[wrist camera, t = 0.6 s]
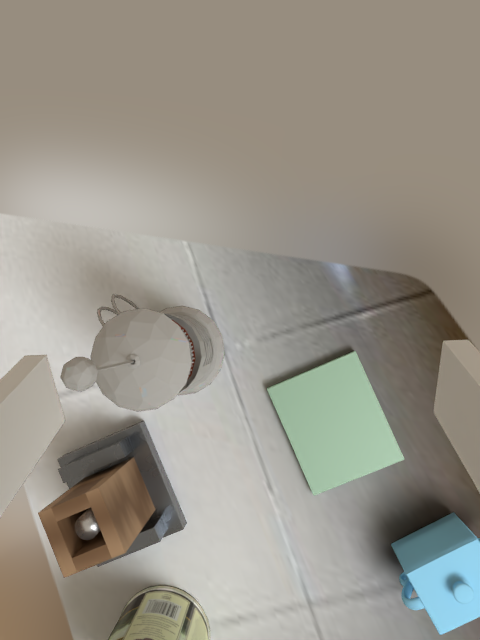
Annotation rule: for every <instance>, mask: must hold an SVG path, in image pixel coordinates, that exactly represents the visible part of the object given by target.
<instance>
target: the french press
mask: <svg viewBox="0 0 480 640" xmlns="http://www.w3.org/2000/svg"><path fill="white" fill-rule="evenodd" d="M115 297H117V298H121V299H123V300H124V301H126V302H128V303H129V304H131V305H132V306H133V307H135V308H136V310H130V311H124V312H122V313H120V311H119V310H118V308H117V307H116V305H115V301H114V298H115ZM111 302H112V305H113V307H114V309H115V310H116V311H115V310H113V309H111V308H108V307H100V308H99V309H98V311H97V314H98V318H99V321H100V323H101V324H102V326H103V328H102V329H101V331H100V332H99V333H98V335H97V336H96V338H95V341H94V345H93V349H92V353H91V360H89V359H88V358H85V357H75V358H74V359H72V360H70V361H69V362H67V363H66V364H64V366H63V369H62V373H61V379H62V381H63V382H64V384H65V386H66V388H69V389H72V390H76V391H80V392H82V391H84V390H87V389H88V388H90V387H92V386H93V384H94V383H95V381H96V383H97V384H98V386H99V388H100V390H101V392H102V393H103V395H105V396H106V397H107V398H108V399H110V400H111V401H112V402H113V403H115V404H116V405H117V406H119V407H122V408H126V409H130V410H133V411H145V410H153V409H158V408H159V407H161V406H163V405H164V404H166V403H168V402H169V401H171V400H173V399H174V398H175V397H176V395H185V394H192V393H196V392H198V391H200V390H201V389H203V388H205V387H206V386H208V385H210V384H211V382H212V381H213V380H214V378H215V377H216V376H217V374H218V373H219V371H220V370H221V366H222V362H223V358H224V354H225V352H224V345H223V338H222V335H221V333H220V331H219V329H218V328H217V326H216V324H215V323H214V321H213V320H212V319H210V318H209V317H208V316H206V315H205V314H204V313H202V312H201V311H200V310H197V309H193V308H189V307H185V306H179V307H173V308H167V309H164V310H163V311H161V312H157V311H153V310H149V309H145V308H142V309H139V308H138V307H137V306H136V305H135V304H134V303H133V302H132V301H130V300H128V299H126V298H124V297H123V296H121V295H115V294H113V295H112V299H111ZM101 310H108V311H111V312H113V313H115V314H117V316H116V317H114V318H112V319H111V320H109V321H107V322H106V324H105V323H104V322H103V320H102V318H101V314H100V312H101Z"/></svg>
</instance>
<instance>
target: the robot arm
mask: <svg viewBox="0 0 480 640" xmlns="http://www.w3.org/2000/svg"><path fill="white" fill-rule="evenodd" d="M434 414H435V416H436V417H437V419H438V421H439V423H440V424H441V426H442V428H443V429H444V431H445V433H446V435H447V436H448V438H449V440H450V442H451V443H452V445H453V447H454V449H455V450H456V452H457V454H458V456H459V457H460V459H461V461H462V463H463V464H464V466H465V468H466V470H467V471H468V473H469V475H470V477H471V478H472V480H473V482H474V484H475V485H476V487H477V489H478V491H479V492H480V352H479V351H478V350H477V349H476V348H475V347H474V346H473V345H472V343H471V342H470V341H469V340H450V341H443V346H442V353H441V361H440V368H439V376H438V383H437V390H436V398H435V405H434ZM64 422H65V418H64V414H63V411H62V407H61V404H60V400H59V397H58V393H57V390H56V386H55V383H54V379H53V376H52V372H51V369H50V365H49V362H48V358H47V355H30V356H24V357H23V358H22V359H21V360H20V361H19V362H18V363H17V364H16V365H15V366H14V367H13V368H12V369H11V370H10V371H9V372H8V373H7V374H6V375H5V376H4V377H3V378H2V379H1V380H0V517H1V516H2V514H3V513H4V511H5V510H6V508H7V507H8V505H9V504H10V502H11V501H12V499H13V498H14V496H15V495H16V493H17V492H18V490H19V489H20V488H21V486H22V485H23V483H24V482H25V480H26V479H27V477H28V476H29V474H30V473H31V471H32V470H33V468H34V467H35V465H36V464H37V462H38V461H39V459H40V458H41V456H42V455H43V453H44V452H45V450H46V449H47V447H48V446H49V444H50V443H51V441H52V440H53V438H54V437H55V435H56V434H57V432H58V431H59V429H60V428H61V426H62V425H63V423H64Z"/></svg>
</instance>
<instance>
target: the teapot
mask: <svg viewBox="0 0 480 640" xmlns="http://www.w3.org/2000/svg"><path fill="white" fill-rule="evenodd" d="M391 546H392V548H393V550H394V552H395V554H396V556H397V558H398V560H399V562H400V564H401V566H402V568H403V570H404V572H403V573H402V574H401V575H400V577H399V580H400V583H401V585H402V586H404V587H403V590H402V600H403V602H404V604H405V605H406V606H407V607H408V608H409V609H412V610H420V609H423V608H425V609H426V611H427V613H428V615H429V616H430V618H431V620H432V622H433V623H434V625H435V627H436V629H437V631H438V632H439V634H440V635H442V634H444V633H446V632H448V631H451V630H453V629H455V628H457V627H459V626H461V625H463V624H465V623H467V622H470V621H472V620H474V619H476V618H478V617H480V538H477V537H476V536H475V535H474V534H473V533H472V531H471V530H470V529H469V528H468V527H467V526H466V525H465V524H464V523H463V522H462V521H461V520H460V519H459V517H458V516H457V515H456V514H455V513H454V512H453V513H451V514H449V515H447V516H445V517H443V518H441V519H439V520H437V521H435V522H433V523H431V524H429V525H427V526H425V527H423V528H421V529H419V530H417V531H415V532H413V533H411V534H409V535H407V536H405V537H403V538H401V539H399V540H397V541H396V542H394V543H392V544H391ZM413 589H414V590H415V591H416V593H417V595H418V597H416V598H413V599H410V597H411V594H412V592H413Z"/></svg>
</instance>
